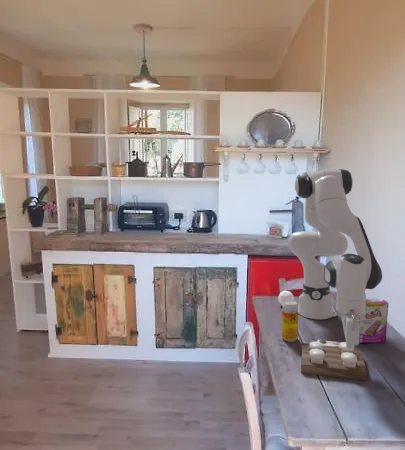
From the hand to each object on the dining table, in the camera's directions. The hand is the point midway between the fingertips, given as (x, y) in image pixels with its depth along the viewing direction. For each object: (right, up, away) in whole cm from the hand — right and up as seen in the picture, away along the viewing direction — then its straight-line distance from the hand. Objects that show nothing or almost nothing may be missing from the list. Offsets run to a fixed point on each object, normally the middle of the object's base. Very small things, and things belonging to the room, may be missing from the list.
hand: (349, 346), depth 121 cm
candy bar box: (+18, -6, +24) cm, 31 cm away
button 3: (-9, -7, +4) cm, 12 cm away
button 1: (-7, -7, +12) cm, 15 cm away
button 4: (0, -7, +1) cm, 7 cm away
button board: (-3, -8, +7) cm, 11 cm away
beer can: (-13, -6, +27) cm, 31 cm away
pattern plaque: (+1, -7, +20) cm, 21 cm away
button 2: (+3, -6, +9) cm, 11 cm away
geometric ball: (-6, -1, +64) cm, 65 cm away
